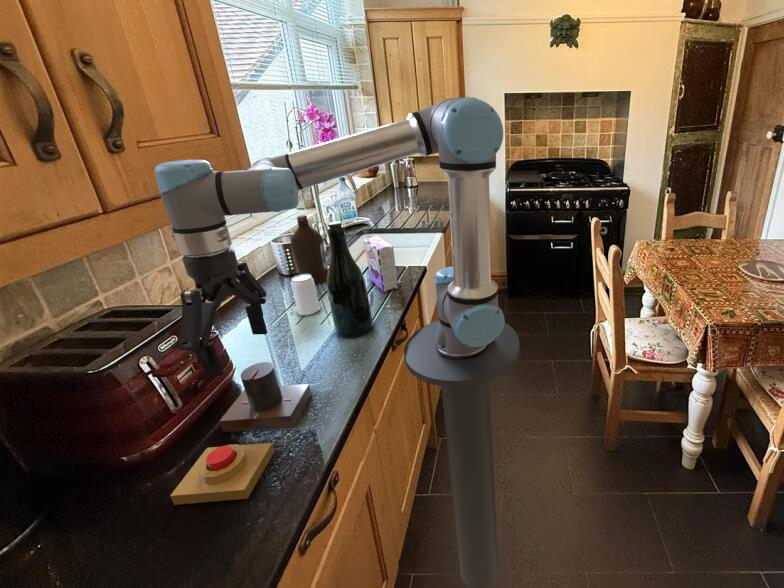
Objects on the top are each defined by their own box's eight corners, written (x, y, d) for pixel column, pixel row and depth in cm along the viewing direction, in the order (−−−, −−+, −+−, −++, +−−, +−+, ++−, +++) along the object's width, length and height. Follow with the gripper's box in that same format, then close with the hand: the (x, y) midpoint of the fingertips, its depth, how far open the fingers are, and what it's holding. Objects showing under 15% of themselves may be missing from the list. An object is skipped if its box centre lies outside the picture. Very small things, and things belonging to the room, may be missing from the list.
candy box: (369, 280, 151) (363, 238, 145) (384, 275, 155) (378, 235, 149) (383, 292, 141) (376, 249, 135) (399, 288, 144) (393, 245, 138)
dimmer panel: (312, 394, 93) (309, 383, 92) (293, 427, 83) (289, 415, 82) (249, 398, 92) (245, 387, 91) (222, 432, 82) (218, 420, 81)
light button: (240, 451, 74) (237, 444, 73) (227, 470, 70) (224, 462, 69) (217, 453, 73) (214, 446, 73) (203, 472, 70) (200, 464, 69)
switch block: (275, 451, 78) (270, 435, 76) (247, 498, 69) (241, 481, 67) (210, 456, 77) (204, 440, 76) (173, 505, 68) (166, 488, 66)
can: (323, 306, 133) (316, 273, 128) (314, 316, 127) (306, 281, 122) (304, 306, 133) (296, 273, 128) (294, 316, 127) (285, 281, 122)
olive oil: (300, 288, 146) (284, 222, 137) (299, 277, 155) (285, 214, 145) (331, 281, 150) (318, 217, 141) (329, 272, 159) (317, 210, 150)
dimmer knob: (259, 392, 89) (249, 361, 86) (287, 390, 90) (278, 359, 87) (244, 412, 84) (234, 379, 80) (274, 410, 84) (265, 377, 81)
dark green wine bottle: (373, 335, 116) (354, 225, 104) (334, 341, 113) (310, 230, 101) (373, 317, 125) (356, 215, 113) (337, 323, 122) (315, 219, 110)
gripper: (171, 280, 59) (212, 396, 67) (270, 229, 82) (292, 319, 90) (121, 280, 59) (168, 396, 67) (234, 229, 82) (259, 319, 90)
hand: (239, 352), depth 78 cm, fingers open, 13 cm apart
